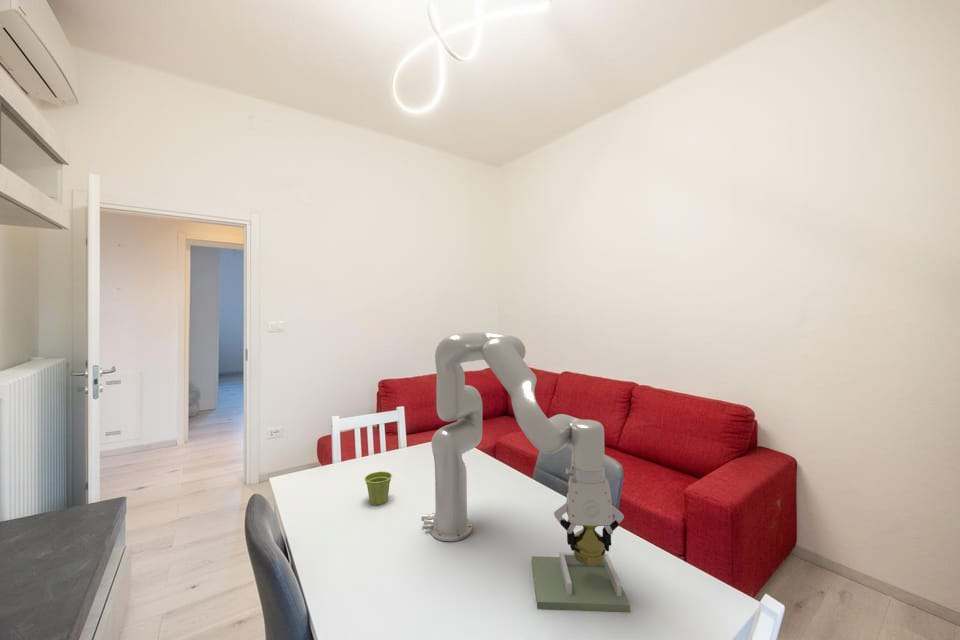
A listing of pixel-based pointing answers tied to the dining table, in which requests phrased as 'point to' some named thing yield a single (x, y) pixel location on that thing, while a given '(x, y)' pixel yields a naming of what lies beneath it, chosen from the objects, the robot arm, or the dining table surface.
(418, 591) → the dining table surface
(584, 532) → the olive rounded stacked piece
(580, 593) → the board with raised rails
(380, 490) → the plant pot
